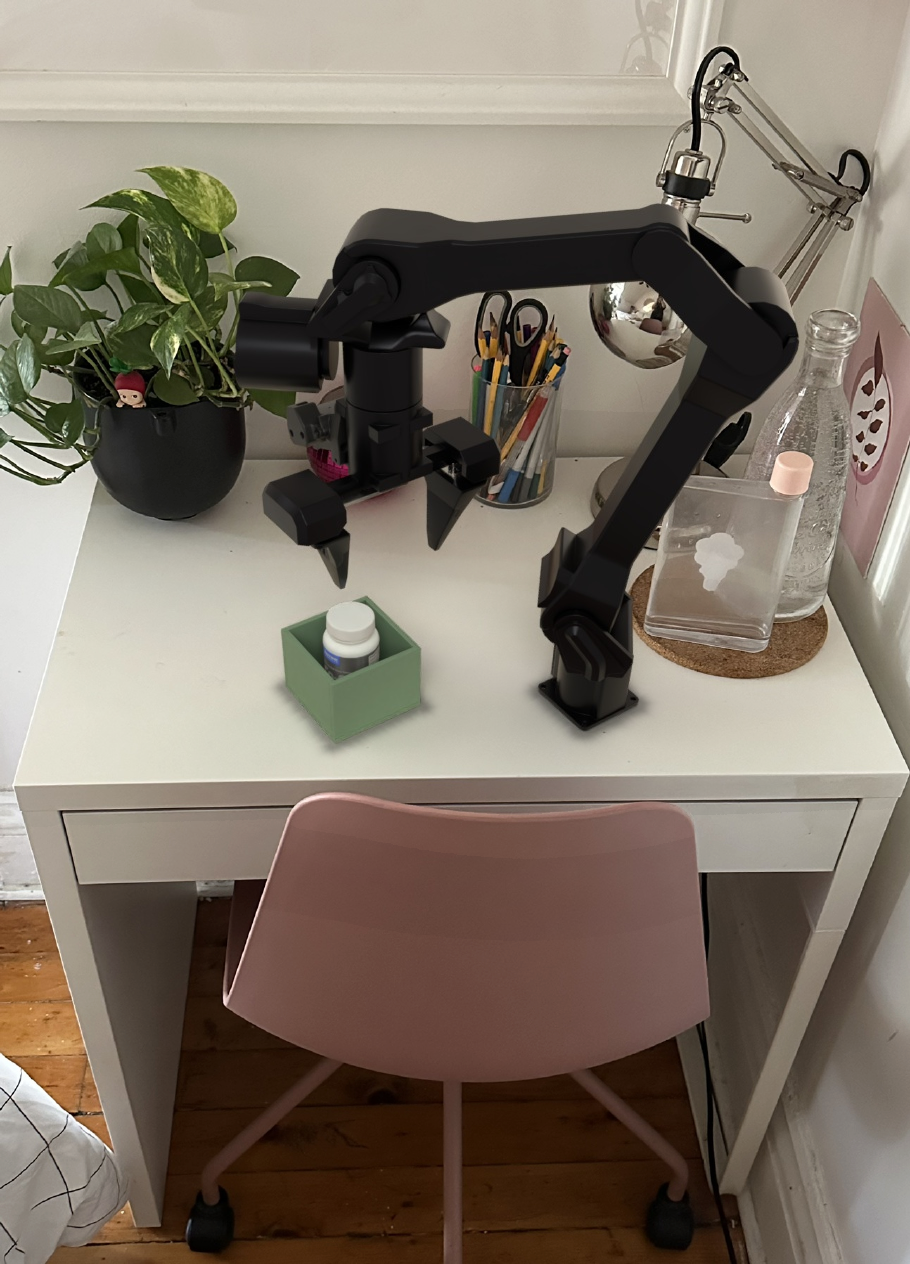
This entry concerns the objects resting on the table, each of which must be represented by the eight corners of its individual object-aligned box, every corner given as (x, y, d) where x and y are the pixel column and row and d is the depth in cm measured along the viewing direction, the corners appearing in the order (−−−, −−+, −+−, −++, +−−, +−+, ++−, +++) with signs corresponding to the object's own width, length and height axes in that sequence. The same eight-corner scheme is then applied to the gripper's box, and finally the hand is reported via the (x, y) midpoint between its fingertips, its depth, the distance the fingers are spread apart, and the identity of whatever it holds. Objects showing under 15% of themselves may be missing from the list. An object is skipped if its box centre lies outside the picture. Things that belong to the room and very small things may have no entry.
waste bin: (420, 705, 99) (421, 647, 94) (335, 743, 95) (332, 685, 91) (368, 651, 104) (366, 594, 100) (285, 686, 100) (280, 628, 96)
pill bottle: (316, 702, 98) (312, 626, 92) (336, 668, 101) (333, 593, 96) (369, 714, 97) (367, 638, 91) (387, 679, 100) (386, 604, 95)
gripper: (424, 324, 93) (424, 488, 103) (217, 385, 84) (238, 557, 94) (510, 377, 86) (500, 547, 96) (293, 449, 77) (308, 627, 87)
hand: (387, 566), depth 93 cm, fingers open, 9 cm apart
